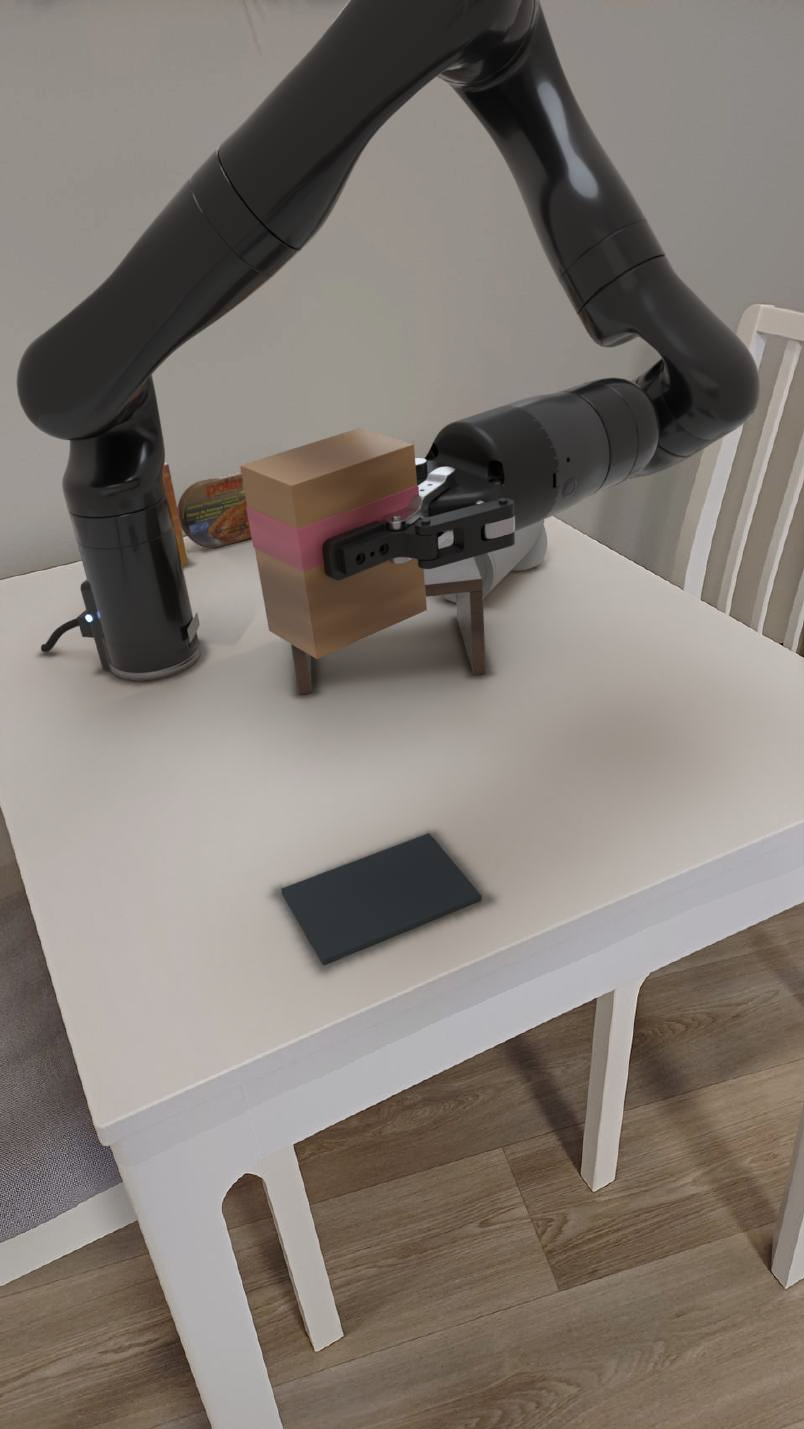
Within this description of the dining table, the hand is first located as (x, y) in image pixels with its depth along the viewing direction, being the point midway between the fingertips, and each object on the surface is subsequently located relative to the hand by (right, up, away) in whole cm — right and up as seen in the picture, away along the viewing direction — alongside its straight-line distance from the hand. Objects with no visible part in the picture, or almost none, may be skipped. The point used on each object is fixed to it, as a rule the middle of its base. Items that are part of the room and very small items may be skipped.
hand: (298, 547), depth 54 cm
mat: (+4, -22, +16) cm, 28 cm away
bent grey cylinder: (+14, +8, +61) cm, 63 cm away
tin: (-15, +14, +75) cm, 78 cm away
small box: (-26, +9, +69) cm, 75 cm away
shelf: (+4, -3, +46) cm, 46 cm away
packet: (+3, -4, +4) cm, 6 cm away
